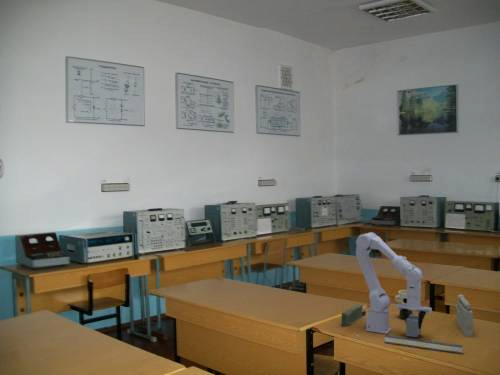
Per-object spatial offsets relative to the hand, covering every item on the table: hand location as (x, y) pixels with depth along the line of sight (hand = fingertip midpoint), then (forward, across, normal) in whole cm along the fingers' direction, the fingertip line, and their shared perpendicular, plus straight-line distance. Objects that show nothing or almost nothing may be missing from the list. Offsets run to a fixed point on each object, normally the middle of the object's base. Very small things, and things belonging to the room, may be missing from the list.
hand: (413, 327), depth 225 cm
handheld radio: (+5, -30, +13) cm, 33 cm away
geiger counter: (+4, +17, +22) cm, 28 cm away
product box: (+3, 0, 0) cm, 3 cm away
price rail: (+4, +6, -13) cm, 15 cm away
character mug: (+4, -9, +27) cm, 29 cm away
